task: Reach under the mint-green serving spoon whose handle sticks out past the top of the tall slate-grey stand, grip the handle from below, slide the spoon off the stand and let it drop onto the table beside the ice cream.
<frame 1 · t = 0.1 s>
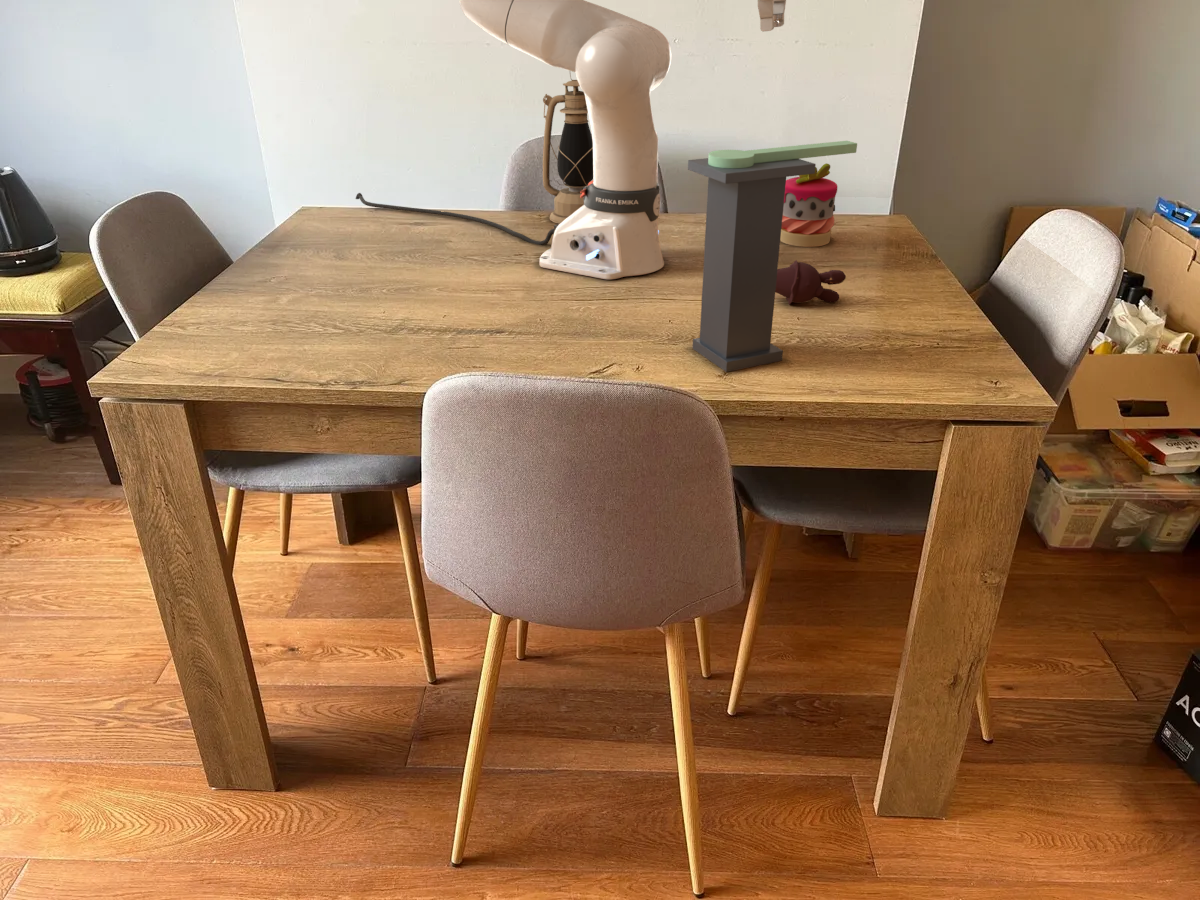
hand: (772, 28, 133), 39 cm above the table, tool pointing down, fingers open, 8 cm apart
stand: (736, 354, 123), on the table
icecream: (793, 303, 141), on the table
lantern: (577, 218, 188), on the table
spoon: (787, 158, 112), point 26 cm above the table, touching stand
cake: (803, 240, 173), on the table
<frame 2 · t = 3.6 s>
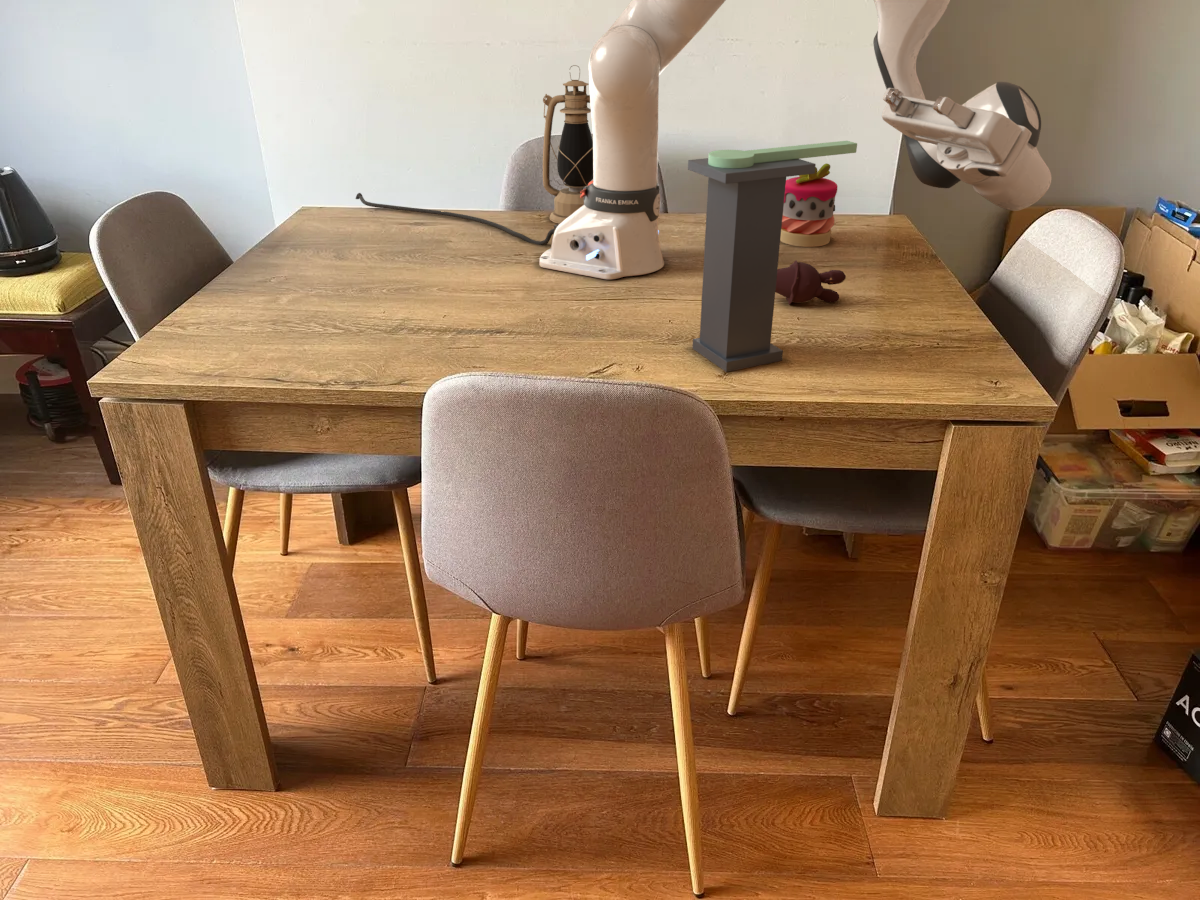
hand: (913, 97, 116), 32 cm above the table, tool pointing upward, fingers open, 8 cm apart
nothing on the table moved.
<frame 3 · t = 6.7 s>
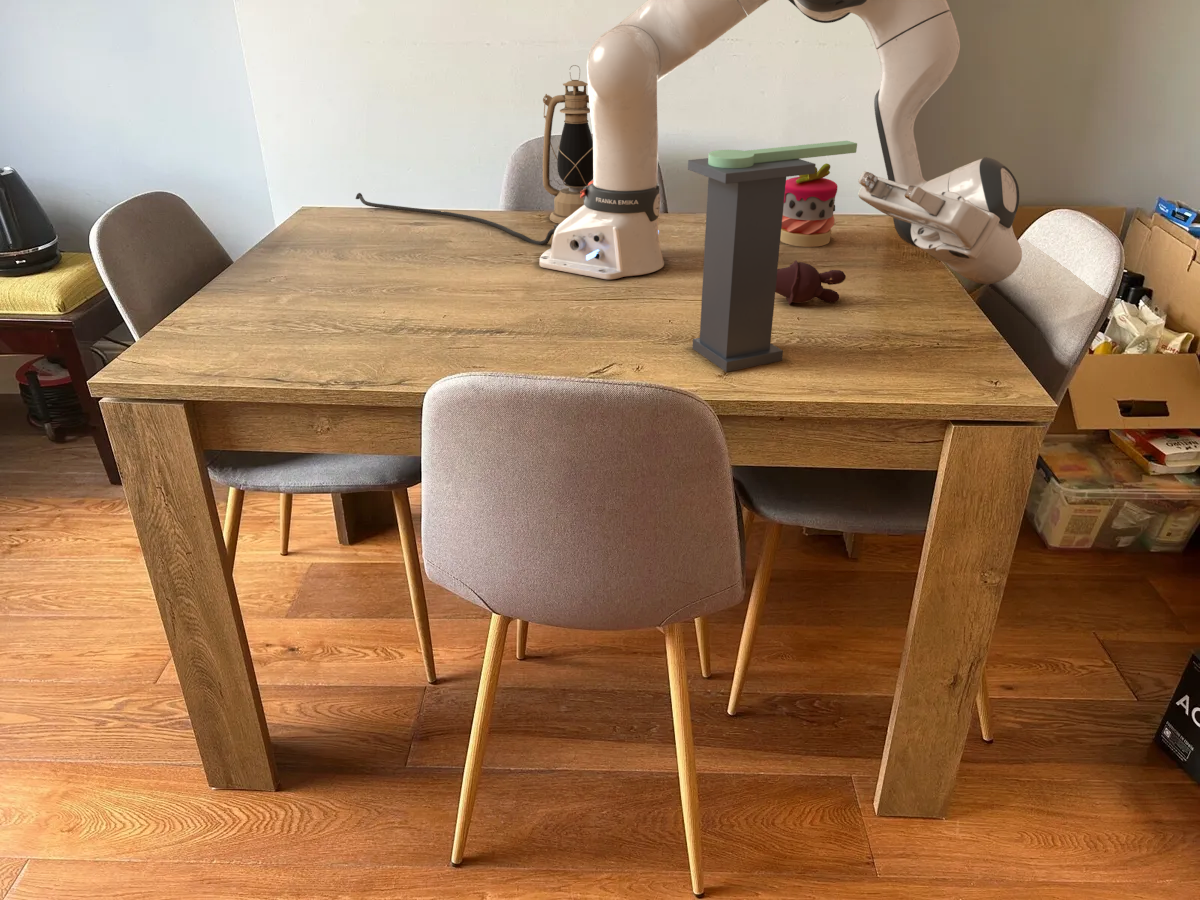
hand: (886, 183, 121), 21 cm above the table, tool pointing upward, fingers open, 8 cm apart
nothing on the table moved.
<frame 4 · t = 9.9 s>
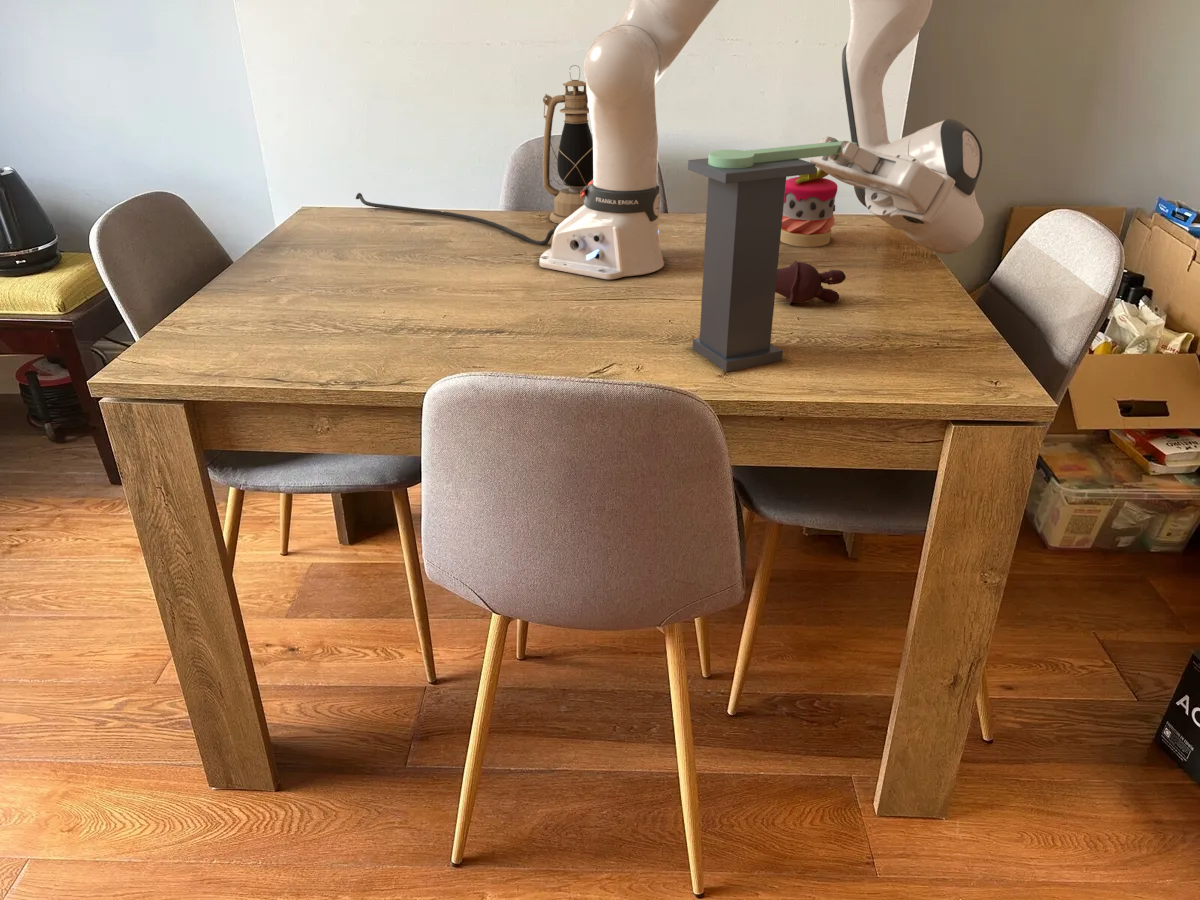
hand: (834, 144, 114), 27 cm above the table, tool pointing upward, fingers closed on spoon, 2 cm apart
spoon: (787, 157, 112), point 26 cm above the table, touching gripper, stand
everything else where it was.
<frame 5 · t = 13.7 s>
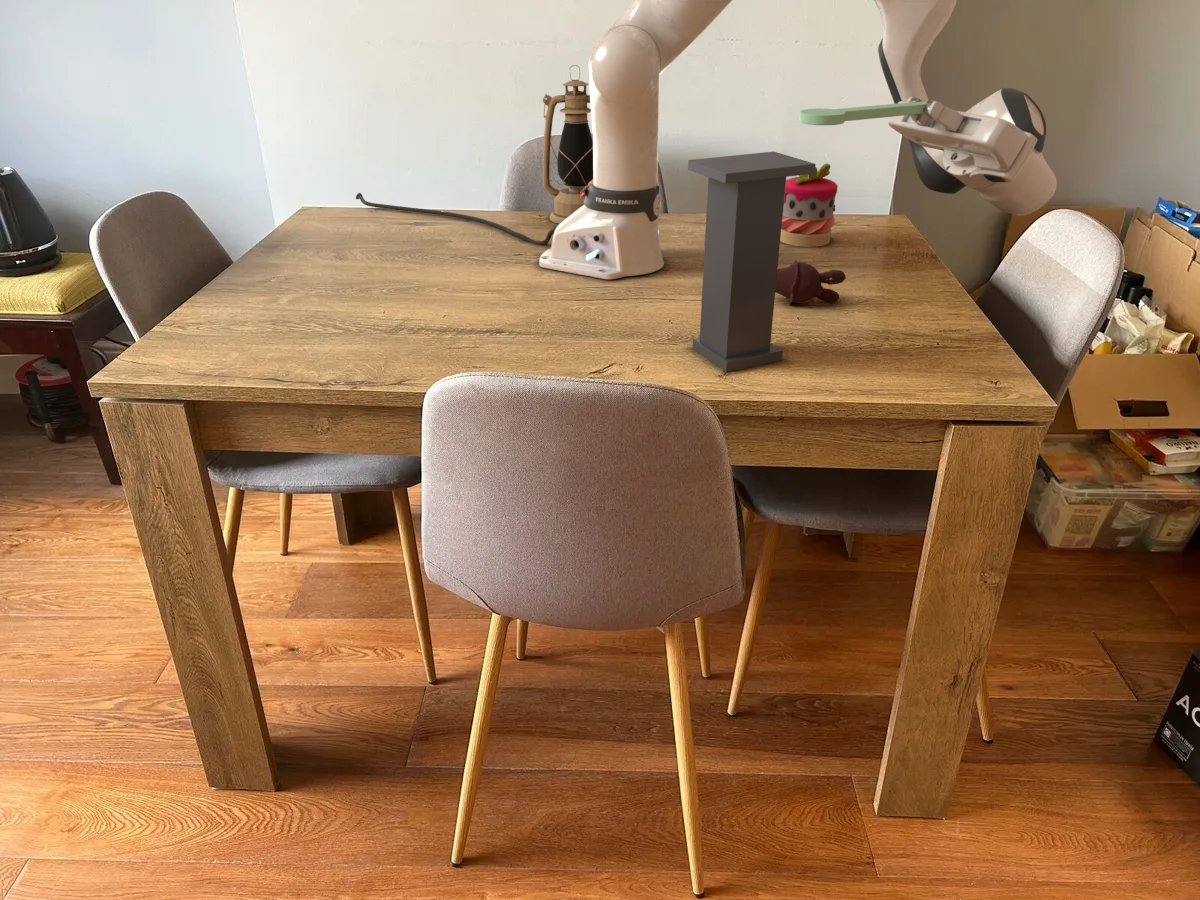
hand: (919, 104, 117), 31 cm above the table, tool pointing upward, fingers closed on spoon, 2 cm apart
spoon: (874, 116, 115), point 30 cm above the table, touching gripper
everything else where it was.
when the fingers open (15 cm above the table, at t = 17.9 s): spoon drops 14 cm, on the table.
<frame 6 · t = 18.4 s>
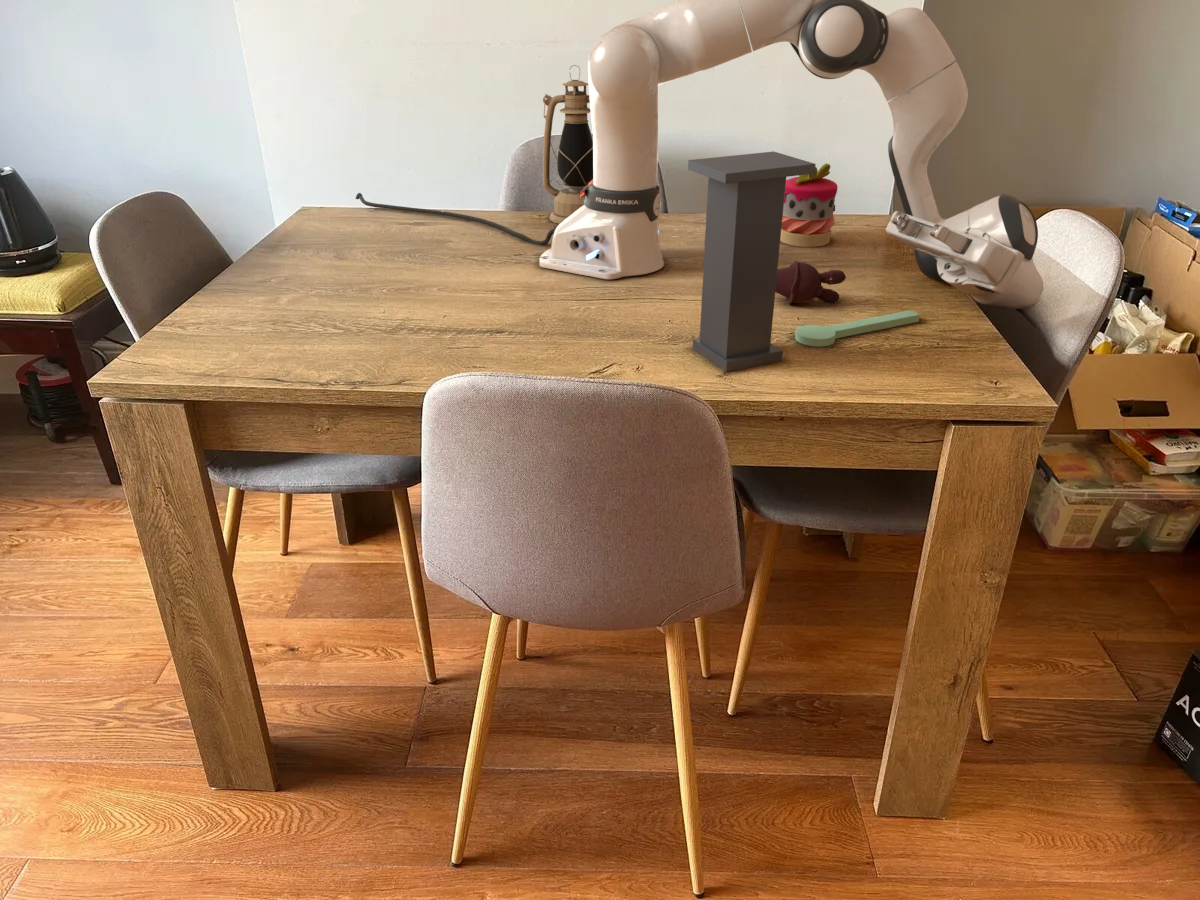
hand: (915, 222, 126), 15 cm above the table, tool pointing upward, fingers open, 7 cm apart
spoon: (861, 330, 131), on the table
everything else where it was.
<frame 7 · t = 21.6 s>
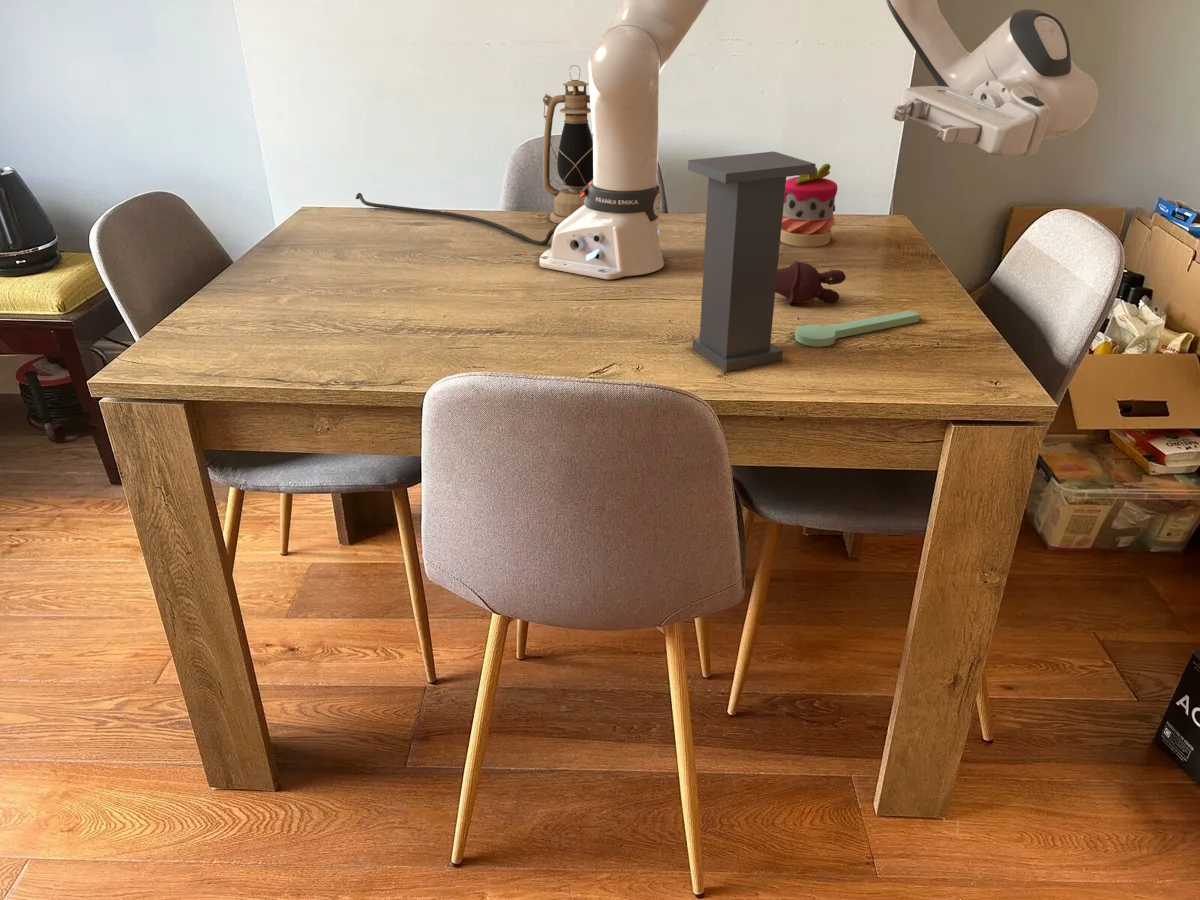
hand: (918, 123, 119), 29 cm above the table, tool horizontal, fingers open, 8 cm apart
nothing on the table moved.
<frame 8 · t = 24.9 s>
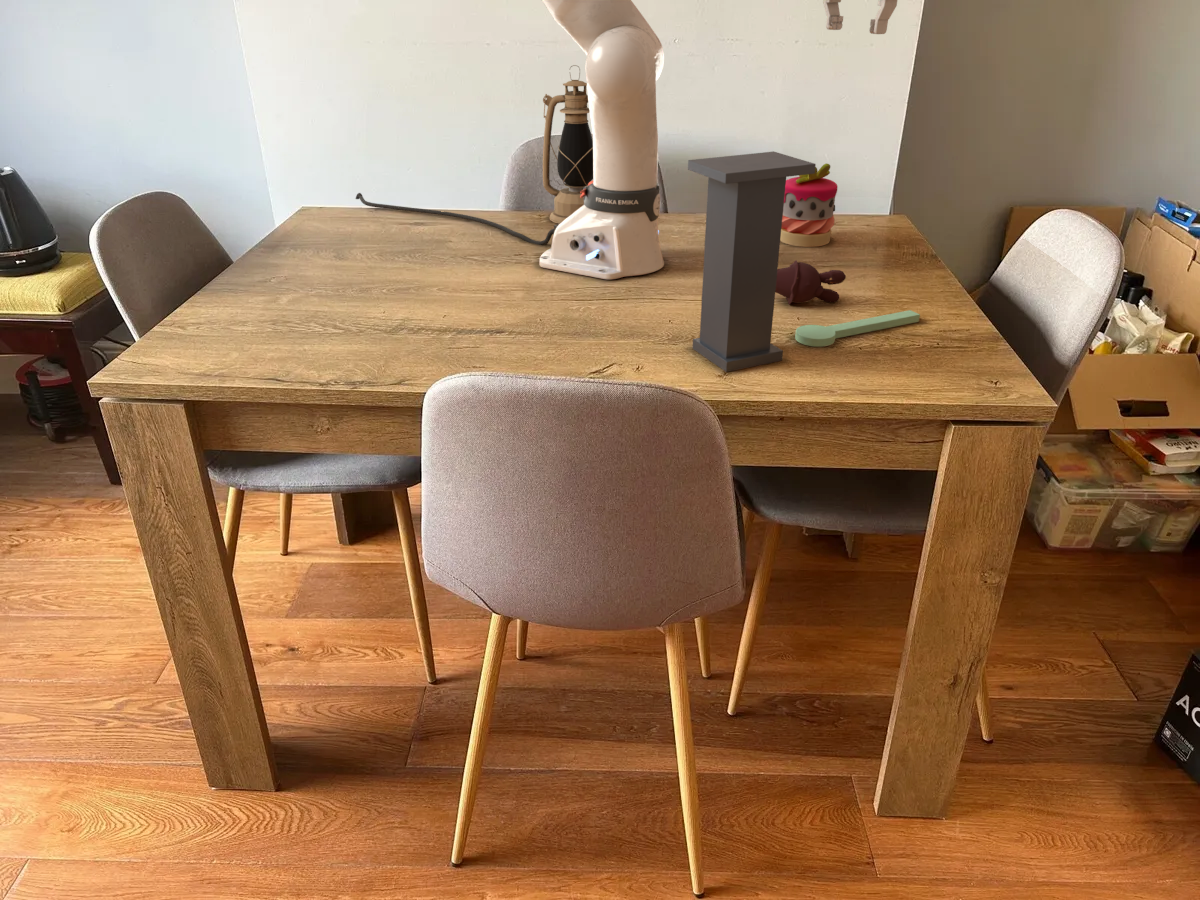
hand: (855, 31, 124), 39 cm above the table, tool pointing down, fingers open, 8 cm apart
nothing on the table moved.
at the end: spoon on the table; spoon 14.4 cm from the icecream (horizontally); spoon inside the target area on the table beside the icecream (1.3 cm from its centre), on the table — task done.
